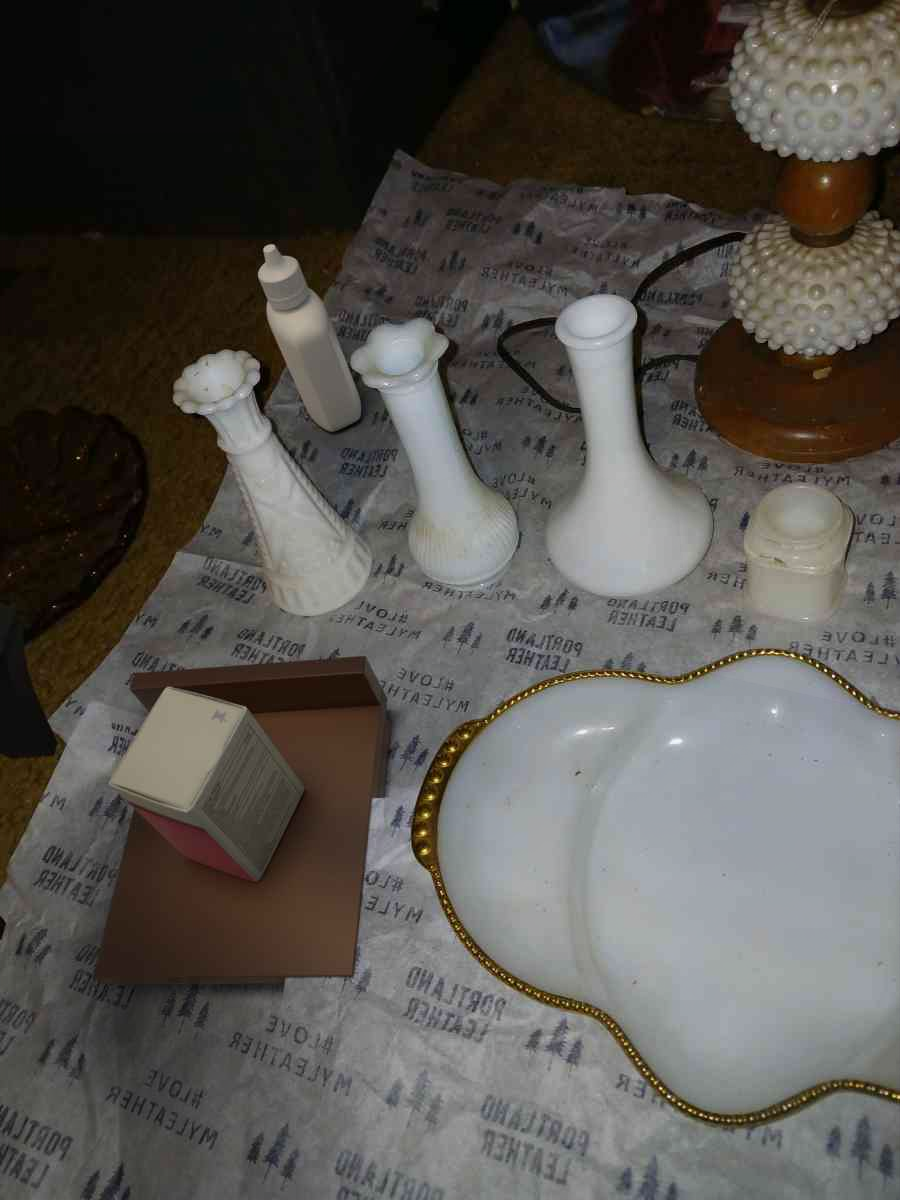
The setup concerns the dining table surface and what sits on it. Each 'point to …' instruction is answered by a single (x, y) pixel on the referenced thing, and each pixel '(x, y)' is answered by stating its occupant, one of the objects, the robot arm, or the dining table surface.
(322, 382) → the eye dropper bottle
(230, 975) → the shelf
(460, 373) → the dining table surface
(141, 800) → the small box
